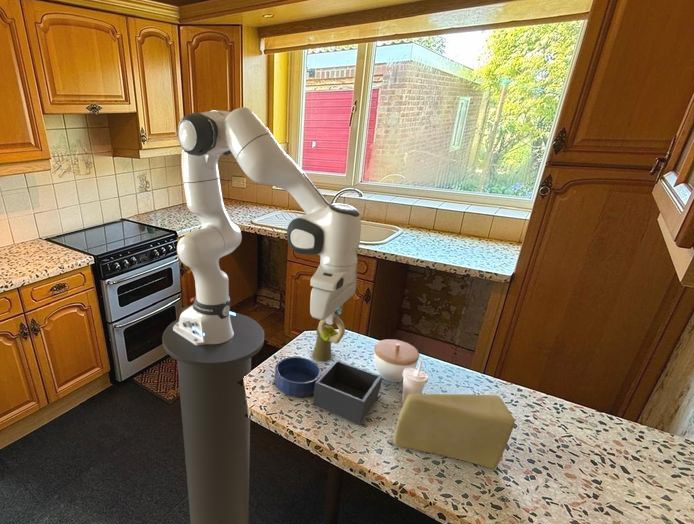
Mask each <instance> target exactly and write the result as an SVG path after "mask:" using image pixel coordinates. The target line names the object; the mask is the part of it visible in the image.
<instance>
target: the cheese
mask: <svg viewBox="0 0 694 524" xmlns="http://www.w3.org/2000/svg"><path fill="white" fill-rule="evenodd" d="M515 424H516V420H515V418H514V416H513V414H512V413H511V412H510V410H509V408H508V407H507V405H506V404H505V401H504V400H503V399H502V398H501V396H499V395H498V394H475V393H474V394H473V393H421V394H409V395H408V396H407V397H406V399H405V402H404V404H403V403H402V408H401V409H400V412H399V414H398V417H397V420H396V424H395V429H394V433H393V438H392V442H393V444H394V446H397V447H401V448H404V449H405V448H406V449H410V450H415V451H418V452H423V453H429V454H433V455H437V456H441V457H447V458H451V459H456V460H459V461H463V462H467V463H471V464H475V465H478V466H482V467H485V468H490V469H494V470H495V469H497V468H498V465H499V463H500V461H501V459H502V457H503V454H504V452H505V449H506V447H507V444H508V442H509V440H510V437H511V435H512V432H513V430H514V427H515Z"/></svg>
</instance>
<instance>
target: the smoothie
mask: <svg viewBox="0 0 694 524" xmlns="http://www.w3.org/2000/svg"><path fill="white" fill-rule="evenodd" d="M422 365H423V361H422V360H420V361H419V364H418V368H417V367H415V368H407V369H405V370H404V371H403V377H404V378H403V380H402V392H401V393H402V395H401V403H402V405H403V404H404V402H405V399H406V397H407V396H408V395H409V394H422V392H423V390H424V388H425V385H426V384H427V383H428V382H429V375H428V373H427V372H426V371H424V370H422V369H421V368H422Z"/></svg>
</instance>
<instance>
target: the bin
mask: <svg viewBox="0 0 694 524" xmlns="http://www.w3.org/2000/svg"><path fill="white" fill-rule="evenodd" d="M382 379H383V378H382V376H380V374H379V373H375V372H372V371H370V370H366V369H364V368H361V367H358V366H355V365H352V364H350V363H348V362H344V361H343V360H339V359H335V360H334V361H333V362H332V363H331V364H330V366H329V367H327V369H326V370H324V372H323V373H322V374H321V377H320V378H319V379H318V380H317V381H316V382H315V389H314V394H313V400H312V405H313V406H315V407H318V408H319V409H322V410H324V411H327V412H329V413H331V414H333V415H336V416H338V417H340V418H342V419H345V420H346V421H349V422H352V423H353V424H356V425H358V426H361V425H362V423H363V421H364V420H365V418H366V416H368V414H369V412H370V411H371V409H372V408H373V406H374V404H375V403H376V402H377V400H378V398H379V394H380V388H381V383H382Z"/></svg>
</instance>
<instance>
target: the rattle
mask: <svg viewBox="0 0 694 524" xmlns="http://www.w3.org/2000/svg"><path fill="white" fill-rule="evenodd" d="M342 312H343V306H342V305H341V307H340V308H339V309H336V310H335V311H334V314H333V317H335V320H334V323H333V324H335V325H336V326H337V329H338V331H337V330H336V329H335V328H334V327H333V326H332V325H329V326H330V327H329V328H328V327H325V325H327V323H326V319H325V320H319V322H318V327H319V332H320V334H321V336H320V337H321V338H322V339H324V340H325V341H328V342H331V343H333V344H339V343H340V342H341V340H342V339H343V338H344V336H345V332H346V327H345V323H344V322H343V320H342V319H341V318H340V317H338V315H339V314H340V315H341V314H342Z"/></svg>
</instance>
